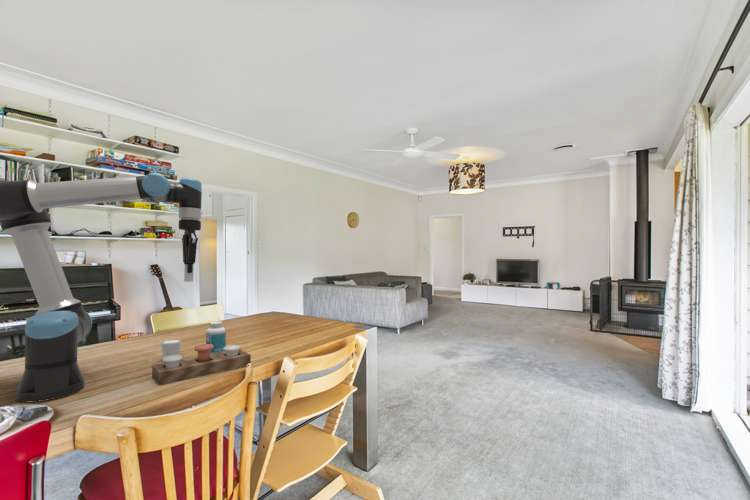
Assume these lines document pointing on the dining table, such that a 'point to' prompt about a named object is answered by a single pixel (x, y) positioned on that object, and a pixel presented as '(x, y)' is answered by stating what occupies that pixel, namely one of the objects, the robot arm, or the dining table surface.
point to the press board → (199, 367)
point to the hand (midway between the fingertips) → (188, 281)
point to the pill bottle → (216, 337)
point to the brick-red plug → (203, 352)
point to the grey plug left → (172, 361)
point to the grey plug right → (232, 350)
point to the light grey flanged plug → (170, 347)
